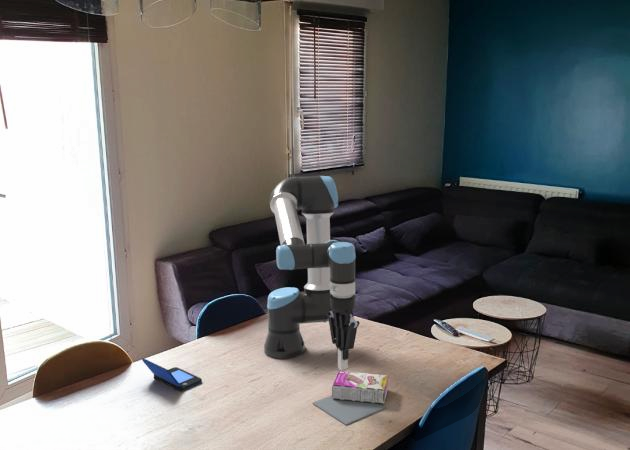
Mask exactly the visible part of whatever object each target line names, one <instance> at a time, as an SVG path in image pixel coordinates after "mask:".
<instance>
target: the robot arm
mask: <svg viewBox="0 0 630 450" xmlns="http://www.w3.org/2000/svg"><path fill="white" fill-rule="evenodd" d="M338 195H339V193H338V190H337V185H336V183H335V180H334V179H333V178H332V176H328V175H326V176H325V175H315V176H314V175H313V176H291V177H286V178H284V179H283V180H281V181H280V182H278V183H277V184H276V186H275V187H274V188H273V189H272V191H271V193H270V196H269V207H270V210H271V212H272V213H273V214H274V217H275V224H276V227H277V232H278V233H277V234H278V239H279V243H280V245H278V246H277V247H276V250H275V253H276V254H275V255H276V256H275V257H276V258H275V259H276V266H277V268H278V269H279V270H289V271H293V270H304V269H307V283H306V284H305V285H304V286H303V291H300V290H299V288H297V287H293V286H292V287H290V286H289V287H281V288H277V289H274V290H272V291H271V292H270V293H269V295H268V297H267V304H266V308H267V323H268V324H267V326H268V327H267V329H268V331H267V334H266V338H265V342H264V346H263V352H264V354H265V355H267V356H268V357H271V358H275V359H291V358H292V359H293V358H297V357H299V356H301V355H303V354H304V352H305V350H306V349H305V341H304V338H303V335H302V333H301V331H300V330H301V329H300V325H301V324H313V323H315V324H316V323H327V322H328V323H329V324H328V325H329V331H330V337H331V343H332V344H333V345H335V347H336V356H337V369H338V370H339V371H343V370H346V369H348V368H349V364H348V363H349V358H350V357H349V350H352V349H354V348H355V347H354V346H355V341H356V337H357V331H358V328H359V326H360V321H359V320H356V319H355V317H354V316H355V315H354V308H355V307H356V295H355V294H356V258H357V256H356V247H355V245H354V244H353V243H350V242H347V241H339V240H336V239H331V223H330V222H331V221H330V218H331V216H333V214H335V213H334V212H335V211H334V209H336V208H338V206H339V196H338ZM297 210H301V215H302V216H304V217H305V219H306V221H305V222H306V243H305V239H304V236H303V232H302V227H301V223H300V220H299V216H298V212H297Z"/></svg>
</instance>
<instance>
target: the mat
mask: <svg viewBox="0 0 630 450" xmlns="http://www.w3.org/2000/svg"><path fill="white" fill-rule="evenodd" d="M312 405H314V406H315V407H316V408H318V409H319V410H321V411H323V412H324V413H326V414H327V415H329V416H330V417H332V418H334V419H335V420H337V421H338V422H340V423H341V424H343V425H344V426H348V425H350V424H353V423H355V422H358V421H359V420H362V419H364V418H367V417H369V416H372V415H374V414H376V413H379V412H381V411H383V410H386V409H387V406H385V405H384V404H380V403H369V402H359V401H349V400H340V399H332V395H330V396H327V397H324V398H321V399H318V400H316V401H314V402H312Z"/></svg>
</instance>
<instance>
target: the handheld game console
mask: <svg viewBox="0 0 630 450" xmlns="http://www.w3.org/2000/svg"><path fill="white" fill-rule="evenodd" d="M142 362H143V363H144V365H145V366H147V369H149V371H150V372H151V373H152V374H153V378H154V379H155V380H157V381H159V382H161V383H162V384H165V383H166V384H165V385H169V387H170V388H172V389H174V390H177V391H178V392H184V391H185V390H187V389H190V388H193V387H194V386H196V385H199V384H201V383H202V382H203V380H202V378H201V377H199V376H197V375H194V374H193V373H190V372H189V371H187V370H184V369H182V368H180V367H175V366H174V367H172V368H170V369H167V368H165V367H162V366H161V365H158V364H156V363H155V362H152V361H150V360H148V359H146V358H144V357H143V358H142Z"/></svg>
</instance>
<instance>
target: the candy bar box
mask: <svg viewBox="0 0 630 450" xmlns="http://www.w3.org/2000/svg"><path fill="white" fill-rule="evenodd" d="M389 379H390V378H389V374H379V373H377V374H376V373H367V372H356V371H355V372H354V371H343V370H338V372H337V375H336V377H335V379H334V381H333V383H332V387H331V393H332V394H331V396H332V399H340V400H349V401H359V402H369V403H380V404H382V405H384V404H385V402H386V399H387V394H388V390H389Z"/></svg>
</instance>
